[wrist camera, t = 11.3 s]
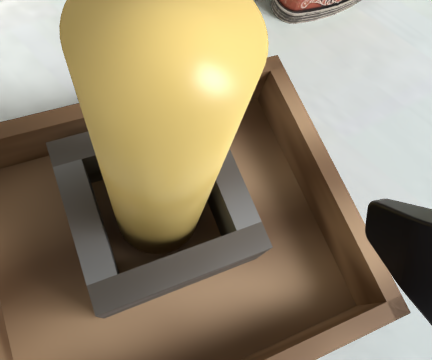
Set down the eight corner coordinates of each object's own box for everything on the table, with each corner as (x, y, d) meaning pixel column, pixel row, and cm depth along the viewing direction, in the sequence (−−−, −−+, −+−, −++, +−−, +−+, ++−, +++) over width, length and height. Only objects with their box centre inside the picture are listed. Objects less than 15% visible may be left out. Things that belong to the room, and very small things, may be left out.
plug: (182, 265, 19) (238, 151, 7) (103, 238, 19) (19, 75, 7) (207, 191, 20) (288, -8, 8) (134, 166, 20) (110, -72, 8)
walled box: (369, 315, 20) (415, 312, 17) (23, 481, 16) (-14, 524, 12) (260, 91, 24) (279, 51, 21) (-41, 172, 20) (-83, 138, 16)
